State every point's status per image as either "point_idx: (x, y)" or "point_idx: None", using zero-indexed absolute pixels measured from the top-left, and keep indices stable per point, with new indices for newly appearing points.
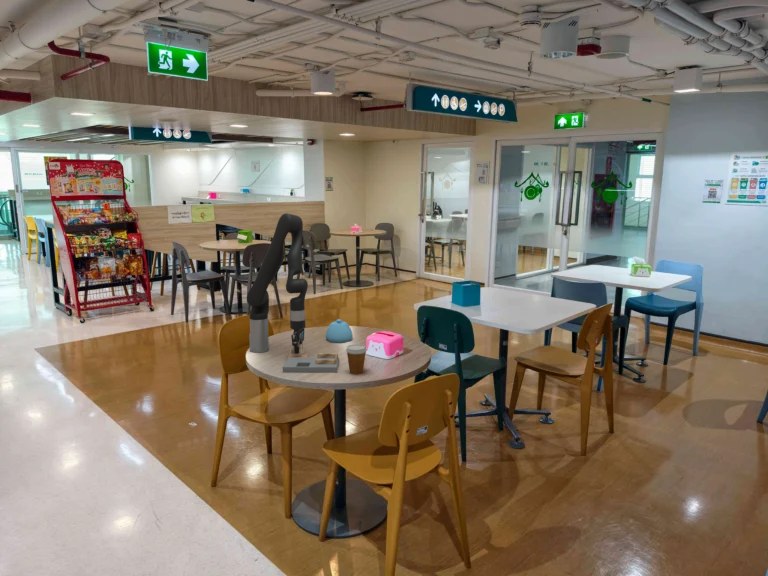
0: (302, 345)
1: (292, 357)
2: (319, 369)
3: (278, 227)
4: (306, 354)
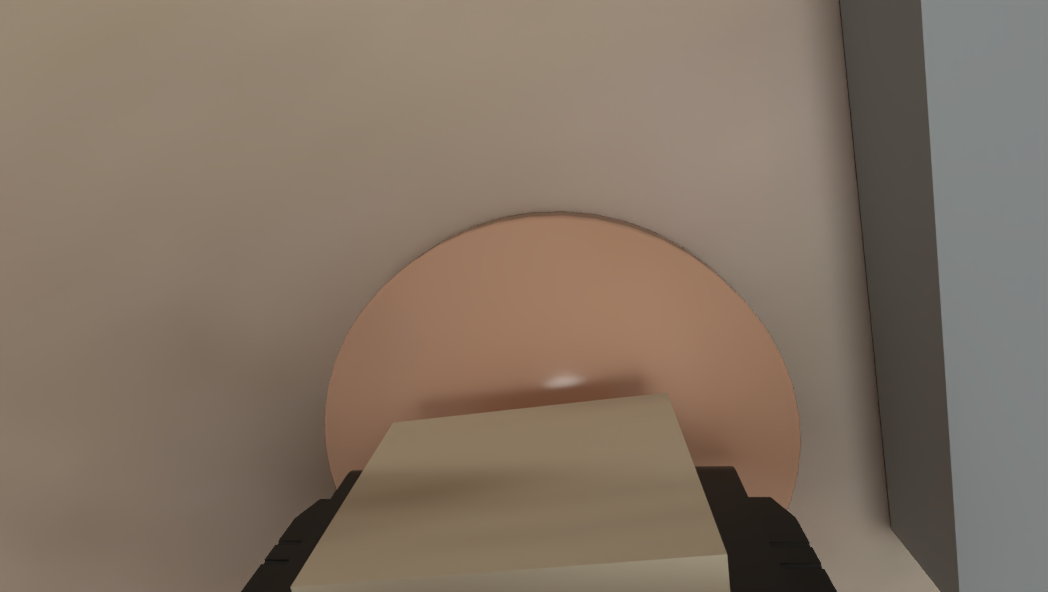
0: (383, 544)
1: (964, 515)
2: None
3: None
4: (412, 304)
